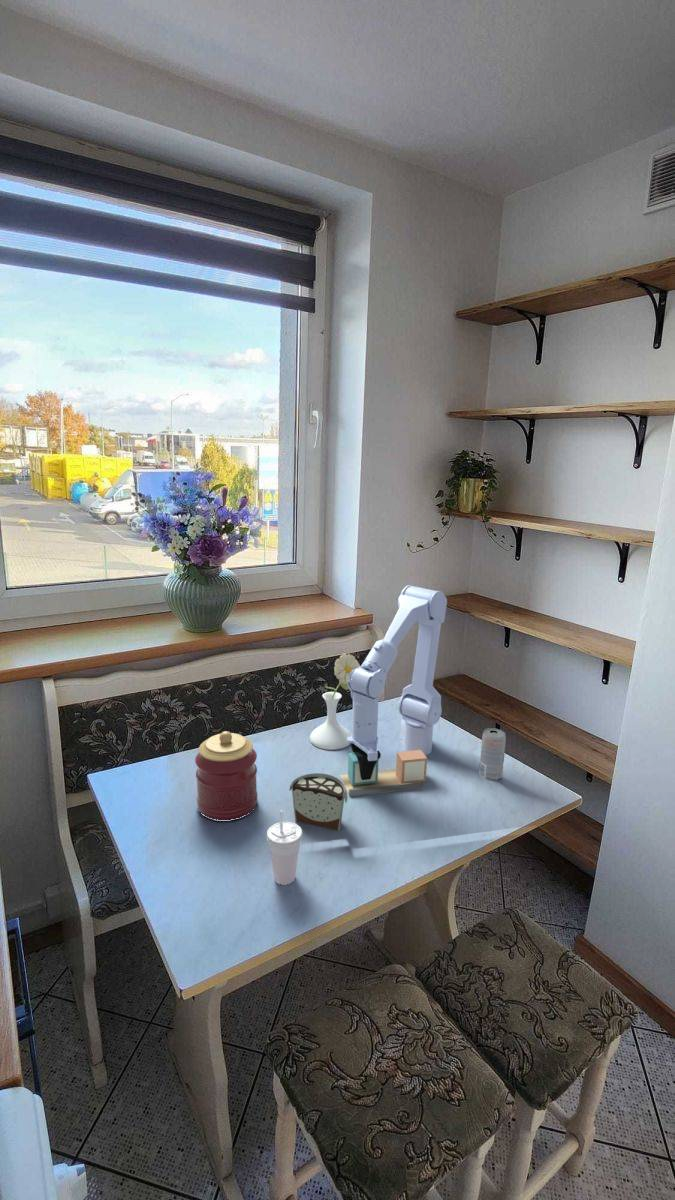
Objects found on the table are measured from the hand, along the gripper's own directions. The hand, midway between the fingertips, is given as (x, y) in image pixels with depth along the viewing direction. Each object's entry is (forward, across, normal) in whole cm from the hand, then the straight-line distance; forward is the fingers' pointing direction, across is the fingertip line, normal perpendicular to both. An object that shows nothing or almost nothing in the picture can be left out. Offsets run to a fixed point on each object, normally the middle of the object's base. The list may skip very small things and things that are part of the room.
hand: (363, 773), depth 140 cm
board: (+3, 0, +4) cm, 5 cm away
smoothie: (+4, +26, -22) cm, 35 cm away
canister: (+4, +2, -31) cm, 31 cm away
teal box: (+2, 0, 0) cm, 2 cm away
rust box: (+2, +1, +11) cm, 12 cm away
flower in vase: (+4, -22, -2) cm, 22 cm away
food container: (+4, +12, -12) cm, 17 cm away
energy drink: (+4, +2, +31) cm, 31 cm away
